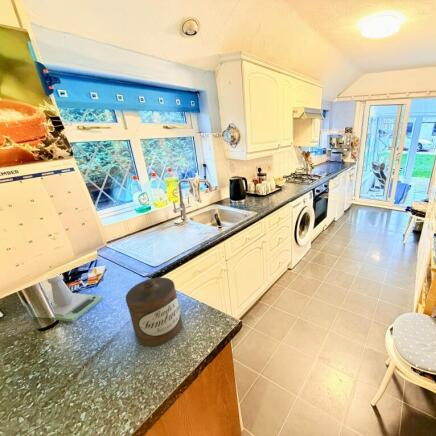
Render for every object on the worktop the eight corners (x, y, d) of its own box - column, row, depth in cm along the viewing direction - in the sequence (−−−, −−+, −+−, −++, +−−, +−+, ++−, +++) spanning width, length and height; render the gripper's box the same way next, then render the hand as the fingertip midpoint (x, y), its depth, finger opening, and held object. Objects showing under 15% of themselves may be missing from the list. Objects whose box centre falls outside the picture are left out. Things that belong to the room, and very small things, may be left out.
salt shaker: (75, 296, 98) (65, 269, 93) (75, 303, 94) (64, 276, 89) (56, 302, 94) (44, 274, 89) (55, 310, 90) (42, 282, 85)
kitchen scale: (37, 320, 90) (33, 313, 88) (71, 297, 102) (68, 291, 100) (74, 325, 88) (71, 317, 87) (104, 301, 100) (102, 294, 99)
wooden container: (151, 354, 77) (136, 301, 69) (129, 334, 85) (113, 284, 77) (190, 325, 89) (181, 276, 81) (168, 309, 96) (158, 263, 88)
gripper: (76, 230, 112) (92, 269, 108) (-6, 249, 94) (11, 296, 90) (74, 223, 107) (92, 263, 103) (-12, 241, 89) (6, 291, 85)
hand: (54, 279), depth 97 cm, fingers open, 13 cm apart
